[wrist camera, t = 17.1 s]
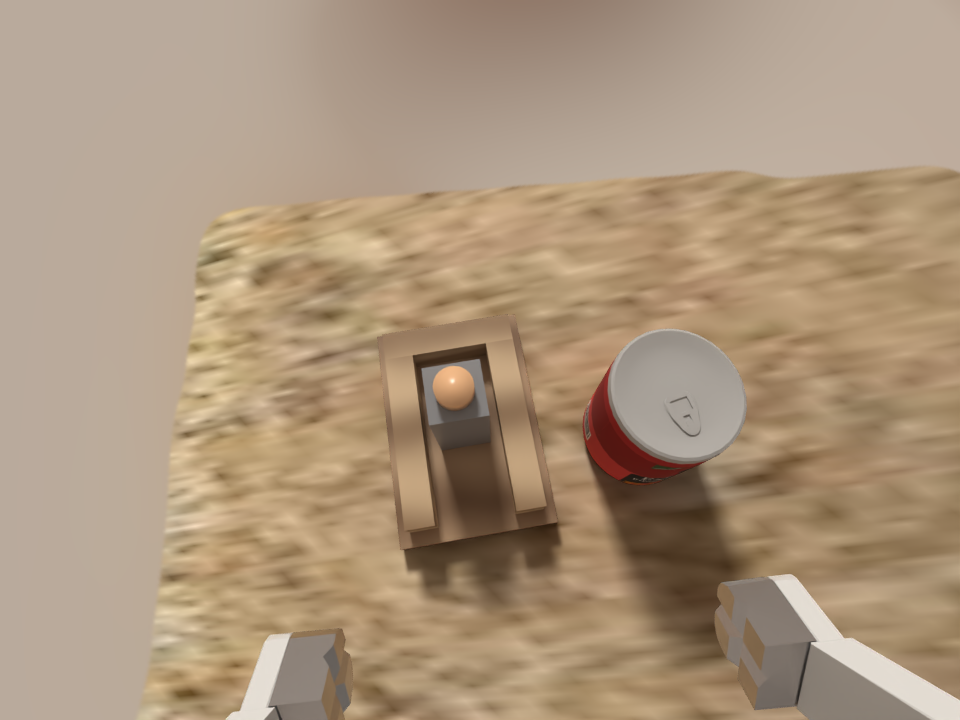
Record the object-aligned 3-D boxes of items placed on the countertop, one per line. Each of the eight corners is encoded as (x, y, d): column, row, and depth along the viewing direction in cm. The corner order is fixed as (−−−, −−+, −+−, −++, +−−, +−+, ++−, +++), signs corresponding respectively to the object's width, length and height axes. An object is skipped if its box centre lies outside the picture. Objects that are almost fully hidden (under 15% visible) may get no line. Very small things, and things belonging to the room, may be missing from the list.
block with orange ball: (490, 442, 39) (489, 410, 30) (441, 450, 39) (426, 420, 30) (482, 395, 40) (479, 351, 32) (435, 403, 40) (418, 361, 31)
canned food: (626, 508, 39) (674, 490, 28) (559, 419, 41) (580, 373, 31) (705, 447, 40) (779, 410, 30) (636, 365, 42) (681, 304, 32)
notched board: (555, 523, 38) (562, 519, 35) (403, 549, 38) (393, 549, 34) (514, 322, 44) (515, 300, 40) (381, 344, 43) (370, 324, 40)
